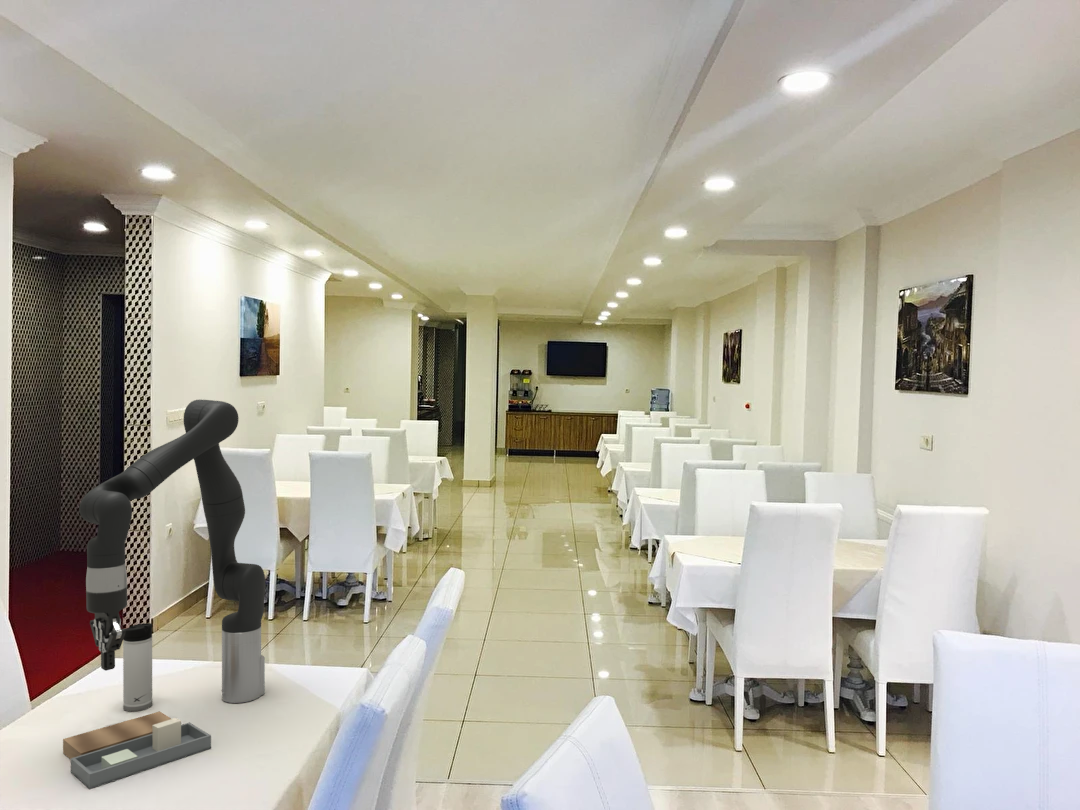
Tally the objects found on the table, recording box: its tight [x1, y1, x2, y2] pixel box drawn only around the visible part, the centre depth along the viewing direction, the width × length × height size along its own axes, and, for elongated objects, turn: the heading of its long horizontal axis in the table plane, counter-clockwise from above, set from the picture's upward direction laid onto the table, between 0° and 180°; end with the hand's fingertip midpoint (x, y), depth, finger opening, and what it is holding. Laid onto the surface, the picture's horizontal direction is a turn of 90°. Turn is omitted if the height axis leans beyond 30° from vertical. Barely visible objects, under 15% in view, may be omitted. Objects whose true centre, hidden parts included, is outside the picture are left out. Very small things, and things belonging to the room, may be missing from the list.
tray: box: [70, 721, 212, 790], centre depth 168 cm, size 24×10×3 cm, turn 138°
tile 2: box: [152, 717, 182, 751], centre depth 174 cm, size 5×5×2 cm
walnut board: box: [62, 711, 172, 760], centre depth 175 cm, size 20×10×3 cm, turn 138°
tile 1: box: [101, 749, 138, 769], centre depth 164 cm, size 5×5×2 cm
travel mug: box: [122, 622, 153, 713], centre depth 196 cm, size 6×7×20 cm
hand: (108, 668), depth 170 cm, fingers closed
